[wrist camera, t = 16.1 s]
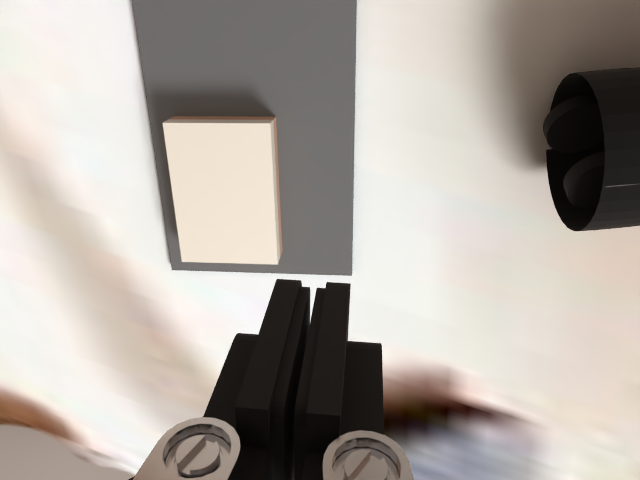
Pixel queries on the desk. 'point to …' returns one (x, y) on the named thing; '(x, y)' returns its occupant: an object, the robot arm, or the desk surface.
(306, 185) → the mat
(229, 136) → the block
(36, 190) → the desk surface
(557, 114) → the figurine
